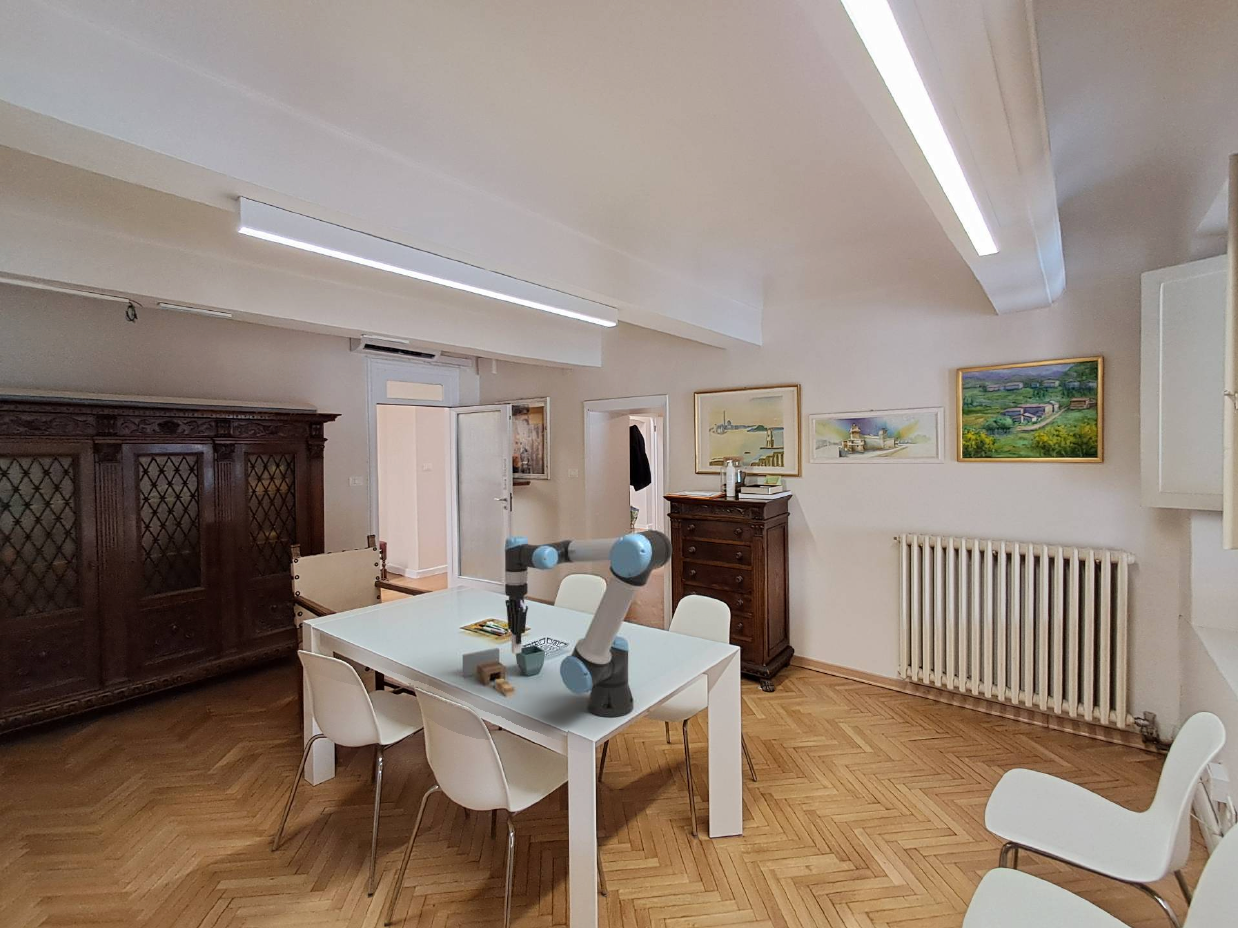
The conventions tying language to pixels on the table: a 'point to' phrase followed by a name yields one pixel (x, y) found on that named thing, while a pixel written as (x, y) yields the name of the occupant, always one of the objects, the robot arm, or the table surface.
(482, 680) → the block
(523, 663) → the flower pot
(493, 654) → the wall
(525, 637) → the table surface
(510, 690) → the dowel
